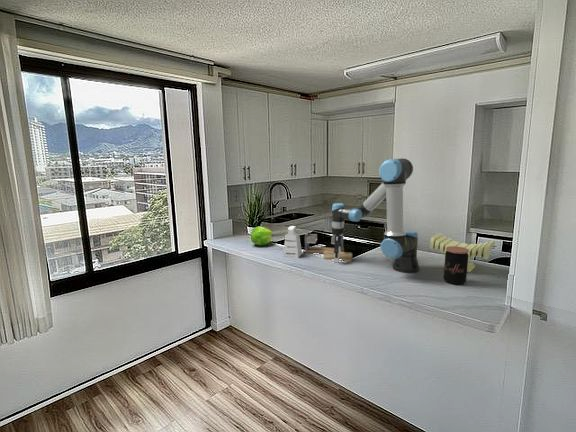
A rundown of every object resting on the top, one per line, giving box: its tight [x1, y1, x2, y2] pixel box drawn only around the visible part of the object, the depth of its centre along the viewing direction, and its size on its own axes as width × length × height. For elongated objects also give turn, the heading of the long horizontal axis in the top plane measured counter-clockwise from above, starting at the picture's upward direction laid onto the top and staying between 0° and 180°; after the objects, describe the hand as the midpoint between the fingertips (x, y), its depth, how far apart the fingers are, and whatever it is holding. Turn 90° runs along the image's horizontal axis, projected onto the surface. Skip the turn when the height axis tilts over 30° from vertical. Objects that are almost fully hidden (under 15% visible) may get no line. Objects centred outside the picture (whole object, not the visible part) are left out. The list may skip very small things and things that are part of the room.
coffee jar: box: [443, 246, 469, 286], centre depth 169 cm, size 11×11×18 cm
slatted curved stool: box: [429, 231, 496, 273], centre depth 189 cm, size 30×16×18 cm, turn 47°
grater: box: [282, 225, 303, 259], centre depth 219 cm, size 10×10×20 cm
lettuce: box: [250, 225, 273, 246], centre depth 248 cm, size 15×20×14 cm
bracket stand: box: [303, 231, 345, 255], centre depth 227 cm, size 13×27×13 cm, turn 76°
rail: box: [323, 250, 353, 262], centre depth 211 cm, size 4×18×5 cm, turn 69°
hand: (337, 259), depth 211 cm, fingers open, 13 cm apart
